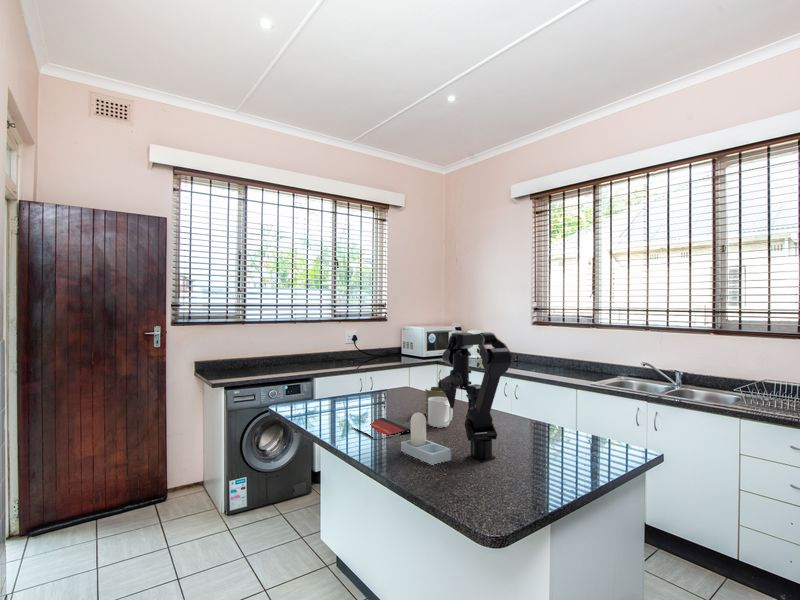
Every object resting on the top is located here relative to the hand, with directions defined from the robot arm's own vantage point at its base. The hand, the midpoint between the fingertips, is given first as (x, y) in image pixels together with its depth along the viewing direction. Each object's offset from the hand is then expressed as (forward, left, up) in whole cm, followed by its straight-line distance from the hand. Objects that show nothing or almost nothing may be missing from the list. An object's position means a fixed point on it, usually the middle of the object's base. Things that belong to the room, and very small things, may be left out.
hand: (461, 410), depth 155 cm
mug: (+21, -10, -12) cm, 26 cm away
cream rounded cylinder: (+2, +18, -11) cm, 22 cm away
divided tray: (-2, +18, -12) cm, 22 cm away
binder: (+32, +13, -13) cm, 37 cm away
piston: (+35, -21, -12) cm, 43 cm away
